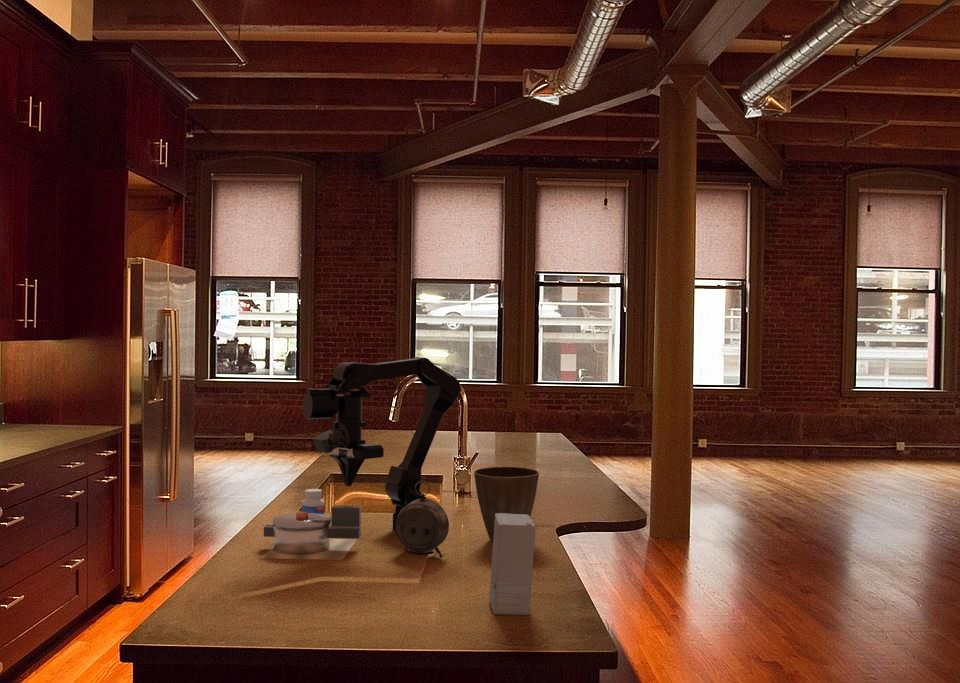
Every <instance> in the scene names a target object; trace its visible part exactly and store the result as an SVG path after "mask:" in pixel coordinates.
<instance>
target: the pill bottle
mask: <svg viewBox="0 0 960 683" xmlns="http://www.w3.org/2000/svg"><path fill="white" fill-rule="evenodd" d="M322 496H323V490H322V489H320V488H309V489H305V490H304V497H305V498H304V499H302V501H301V511H300V512H307V513H316V514H324V515H325V500H324V499H323V498H322Z"/></svg>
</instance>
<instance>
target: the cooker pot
mask: <svg viewBox="0 0 960 683" xmlns="http://www.w3.org/2000/svg"><path fill="white" fill-rule="evenodd" d="M361 528H362V527H361V526H360V527H335V526H331V524H330V525H329V526H326V527H323V528H317V529H309V530H288V529H281V528H277V527H274V526H273V524H266V525H265V526H263V537H265V538H267V537H268V538H271V537H272V538H273V540H272V543H273V546H272V547H273V550H274V551H275V552H278V553H281V554H288V555H308V554H316V553H321V552H324V551H327V550H328V549H330V539H357V540H358V539H359V538H360V537H361V532H362V531H361Z"/></svg>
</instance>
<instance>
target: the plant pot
mask: <svg viewBox="0 0 960 683" xmlns="http://www.w3.org/2000/svg"><path fill="white" fill-rule="evenodd" d="M473 475H474V476H473V477H474V481H475V488H476V494H477V495H476V496H477V500H478V505H479V508H480V509H479V510H480V514H481V518H482V520H483V523H484V527H485V529H486V532H487V536H488V538H489V540H490V542H491V543H493V537H494V522H495V514H496V513H507V514H525V515H529V516H530V517H531V516H532V512H533V509H534V504H535V500H536V495H537V488H538V482H539V476H540V471H538V470H536V469H532V468H527V467H520V466H519V467H517V466H495V467H494V466H492V467H491V466H490V467H481V468H478V469H475V470H474V471H473Z"/></svg>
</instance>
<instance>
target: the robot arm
mask: <svg viewBox="0 0 960 683" xmlns="http://www.w3.org/2000/svg"><path fill="white" fill-rule="evenodd" d="M413 375H415V376H416V377H417V379H418V381H419V382H420V383H421V384H422V385H423V386H425V387H426V388H425V393H424V408H423V412H422V414H421V416H420V419H419V421H418V424H417V426H416V429H415V431H414V433H413V434H412V435H413V436H412V438H411V440H410V443H409V445H408V448H407V451H406V453H405V455H404V457H403V460H402V461H401V462H400V463H399V465H398V466H396V465H391V467H389V471H388V475H387V477H386V478H385V479H384V482H385V486H384V490H385V494H386V495H387V496H388V497H389V499H390V501H391V504H392V505H393V506H395V511H394V512H393V513H392V532H394V531H395V532H396V519H397V516H398V514H399V512H400V511H401V510H402V509H403V508H404V507H405V506H407V505H408V504H409V503H411V502H412V501H414V500H417V499H420V498H421V496H420V495H418V494H422V493H423V492H421V486H422V482H420V483H418V484H417V486H416V491H417V492H418V494H417V493H416V491H415V485H416V483H417V482H419V481H423V480H422V468H423V465H424V463H425V461H426V458H427V456H428V453H429V451H430V448H431V446H432V444H433V441H434V439H435V436H436V433H437V431H438V429H439V426H440V424H441V421H442V419H443V417H444V415H445V413H447V411H448V410H450V408H451V407H452V406H453V405H454V404H455V403H456V401H457V399H458V397H459V395H460V393H461V390H462V386H461V384H460V381H459V380H458V378H457V377H456V376H451V375H449V373H448V372H446V371H444V370H443V369H441V368H440V367H438V366H437V365H435V364H434V362H432V361H431V360H430V359H429V358H427V357H419V356H416V357H415V356H414V357H412V358H408V359H400V360H393V361H383V362H376V363H362V362H346V361H345V362H340V363H338V364H337V365H336V367H335V368H334V371H333V376H332V377H331V378H330V379H329V381H328V382H327V384H326V385H325V387H324V388H307V389H306V394H305V395H304V398H303V402H302V413H303V416H304V418H305V420H319V419H321V420H323V419H332V418H333V417H334V416H335V415H336V421H332V423H331V429H329V430H327V431H324V432H322V433H319V434H318V435H316V436H314V437H313V439H312V440H313V443H314V451H315V452H317V453H318V452H319V453H324V454H329V453H331V452H332V454H329V457H330V458H332V460H334V461H336V463H337V464H338V467H339V469H340V472H341V476H342V479H343V482H344V485H345V486H346V487H351V486H352V484H353V483H354V481H355V479H356V476H357V475H358V473H359V472H360V469H361V467H362V465H363V463H364V462H365V460H370V459H380V458H384V457H385V454H384V453H385V448H384V447H383V445H381V444H378V443H373V442H372V443H370V442H369V443H366V439H362V432H363V430H362V428H363V427H366V421H363V398H371V397H372V394H371V393H370V392H369V391H368V390H367V389H366V388H365V386H367V385H370V384H372V383H374V382H376V381H379V380H386V379H393V378H400V377H407V376H413ZM424 499H428V498H427V496H424Z"/></svg>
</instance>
